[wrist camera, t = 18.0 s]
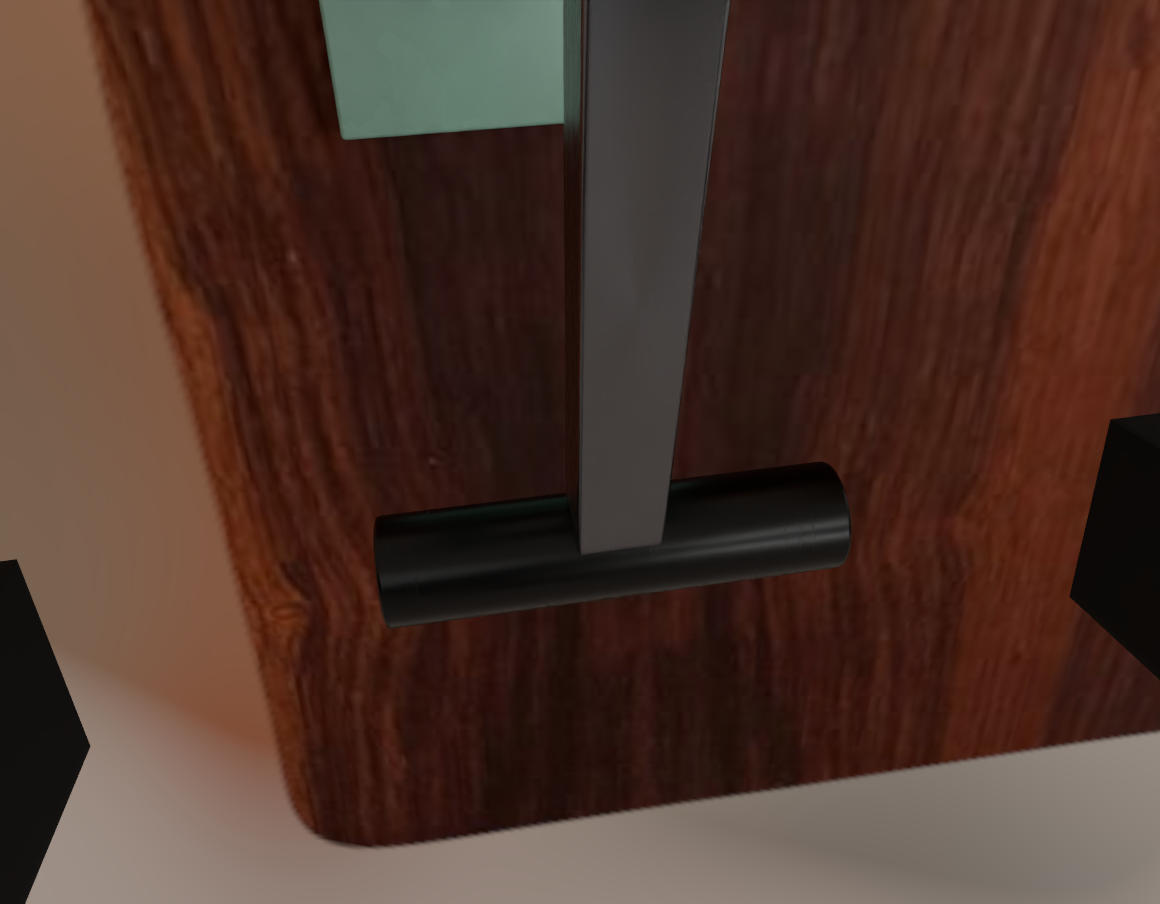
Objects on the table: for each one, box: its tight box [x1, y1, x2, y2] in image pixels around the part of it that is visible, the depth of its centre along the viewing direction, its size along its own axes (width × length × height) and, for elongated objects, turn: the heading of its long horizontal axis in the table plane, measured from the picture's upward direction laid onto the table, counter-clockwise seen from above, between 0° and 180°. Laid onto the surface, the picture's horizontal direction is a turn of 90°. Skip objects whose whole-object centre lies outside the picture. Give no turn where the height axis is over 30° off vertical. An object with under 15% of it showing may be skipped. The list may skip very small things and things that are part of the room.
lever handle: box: [373, 0, 851, 629], centre depth 8 cm, size 12×6×2 cm, turn 3°
